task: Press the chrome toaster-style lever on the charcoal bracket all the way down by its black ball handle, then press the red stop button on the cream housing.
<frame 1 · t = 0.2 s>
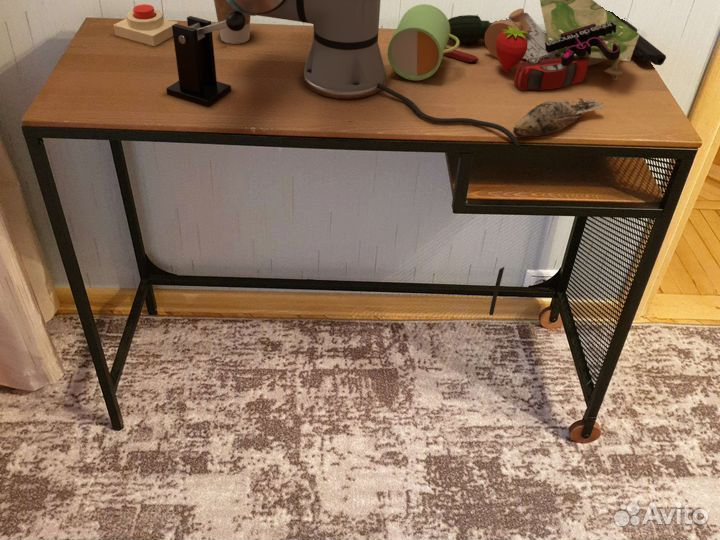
bird model: (559, 98, 123), point 5 cm above the table
press lever: (214, 27, 120), point 13 cm above the table, hinge at 25.0°
utility knife: (448, 54, 145), point 1 cm above the table
button housing: (147, 34, 148), on the table
stop button: (144, 12, 145), point 4 cm above the table, slide at 0.1 cm
lever bracket: (199, 92, 130), on the table
door knob: (504, 11, 144), point 8 cm above the table, touching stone
coffee cup: (235, 38, 148), on the table
toy car: (547, 66, 139), point 2 cm above the table
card: (586, 25, 143), point 7 cm above the table, touching jawbone, logo
mug: (431, 31, 142), point 5 cm above the table
strawberry: (506, 72, 142), on the table
jawbone: (602, 65, 146), on the table, touching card
handgun: (661, 36, 159), on the table
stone: (549, 33, 152), point 2 cm above the table, touching door knob
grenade: (445, 28, 149), point 3 cm above the table
logo: (576, 31, 138), point 8 cm above the table, touching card
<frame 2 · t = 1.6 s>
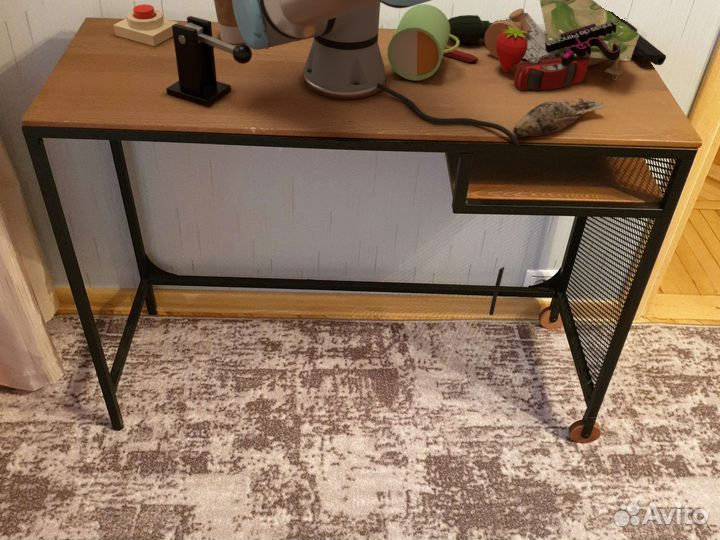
press lever: (217, 43, 121), point 10 cm above the table, hinge at -6.7°
toy car: (547, 66, 139), point 2 cm above the table, touching logo
logo: (576, 32, 138), point 8 cm above the table, touching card, toy car
everything else where it was.
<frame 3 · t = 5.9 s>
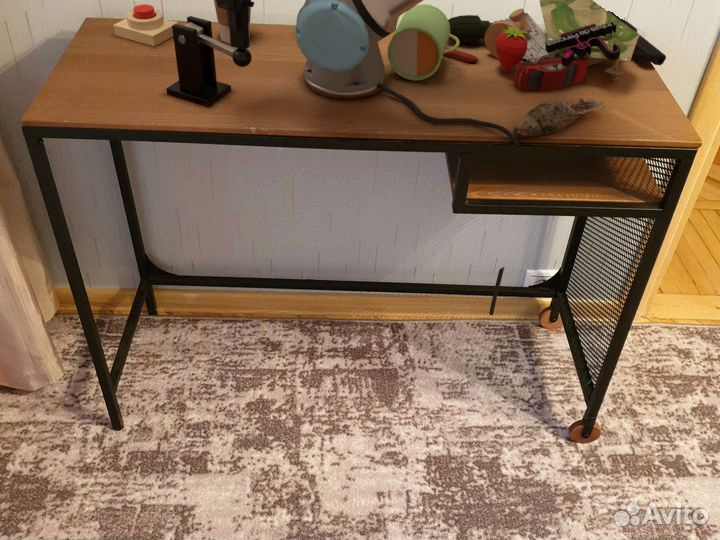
hand: (240, 46, 119), 11 cm above the table, tool pointing down, fingers closed
press lever: (217, 45, 121), point 10 cm above the table, hinge at -10.4°, touching gripper
everything else where it was.
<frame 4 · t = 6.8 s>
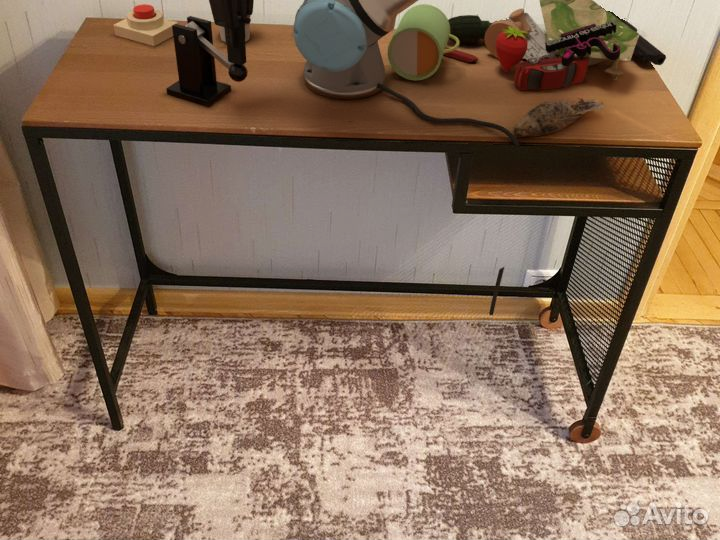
hand: (237, 61, 122), 8 cm above the table, tool pointing down, fingers closed
press lever: (215, 53, 123), point 9 cm above the table, hinge at -28.2°, touching gripper
everything else where it was.
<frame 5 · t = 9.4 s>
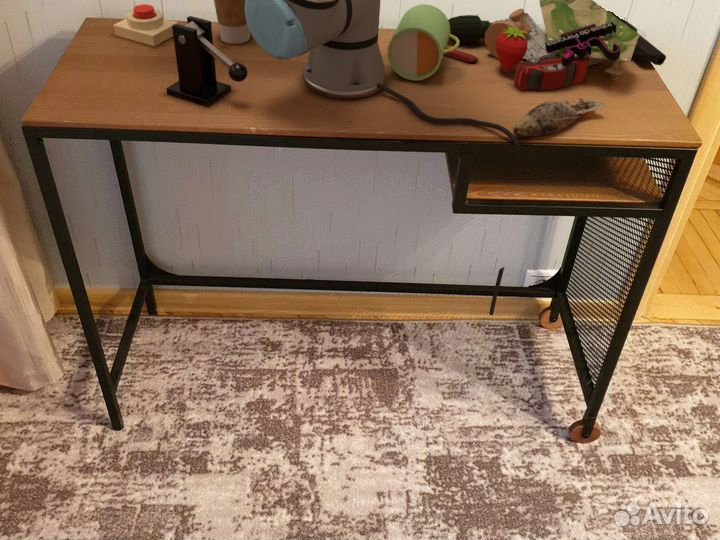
press lever: (215, 53, 123), point 9 cm above the table, hinge at -28.2°
everything else where it was.
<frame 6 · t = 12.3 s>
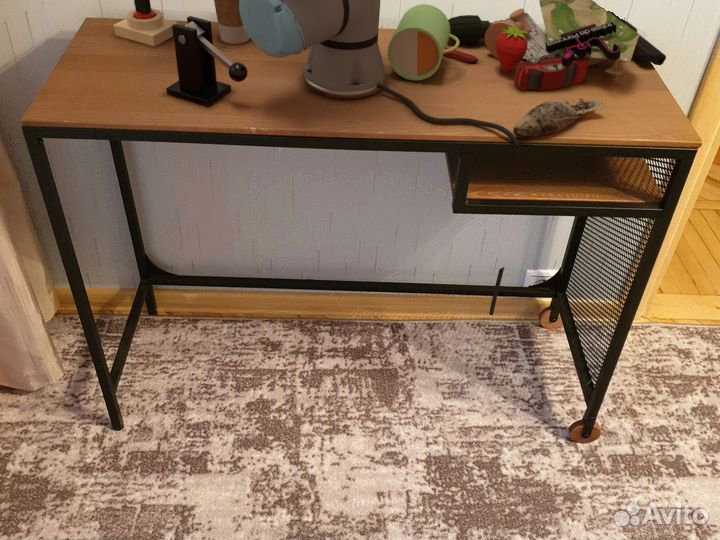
hand: (143, 11, 145), 5 cm above the table, tool pointing down, fingers closed
stop button: (144, 17, 145), point 4 cm above the table, slide at -0.8 cm, touching gripper
everything else where it was.
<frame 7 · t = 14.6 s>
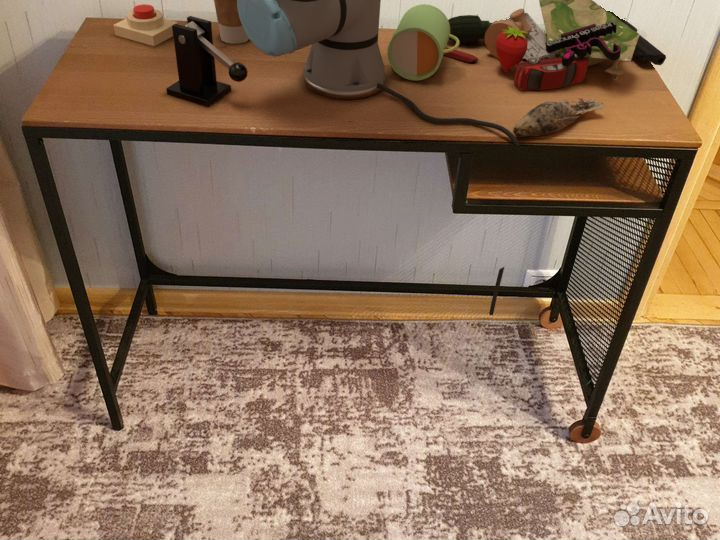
stop button: (144, 12, 145), point 4 cm above the table, slide at 0.1 cm
everything else where it was.
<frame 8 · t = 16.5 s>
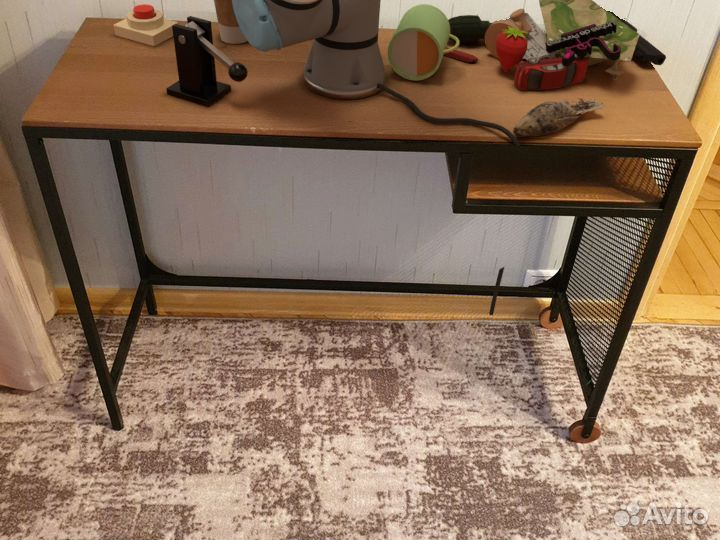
toy car: (547, 66, 139), point 2 cm above the table
logo: (576, 32, 138), point 8 cm above the table, touching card
everything else where it was.
at the end: press lever at -28° (first picture: +25°); stop button pushed in 1.0 cm at the most during the clip, back to where it started at the end; stop button slide at 0.1 cm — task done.
